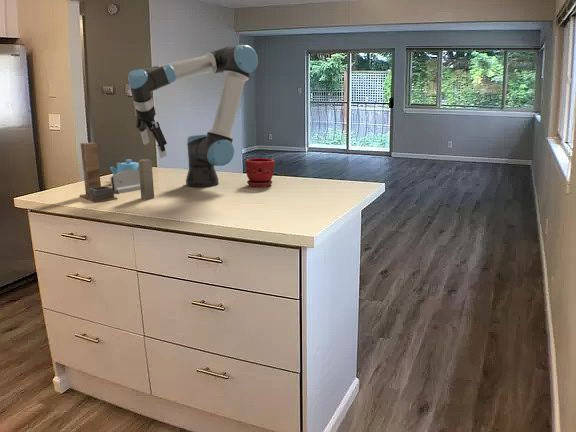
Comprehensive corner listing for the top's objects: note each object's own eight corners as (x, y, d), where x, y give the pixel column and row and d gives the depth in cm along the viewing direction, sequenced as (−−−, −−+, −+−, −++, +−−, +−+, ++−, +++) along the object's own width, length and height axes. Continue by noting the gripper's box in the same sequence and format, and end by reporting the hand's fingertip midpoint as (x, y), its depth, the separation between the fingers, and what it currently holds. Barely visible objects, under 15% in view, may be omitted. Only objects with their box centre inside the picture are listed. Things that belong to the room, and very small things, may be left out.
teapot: (143, 184, 271) (141, 161, 268) (111, 184, 270) (109, 162, 267) (148, 178, 285) (147, 157, 283) (118, 179, 284) (116, 157, 282)
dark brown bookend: (117, 199, 237) (112, 144, 232) (95, 202, 231) (89, 146, 226) (101, 193, 250) (96, 141, 244) (79, 196, 244) (74, 143, 238)
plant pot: (269, 188, 254) (268, 161, 251) (241, 187, 258) (240, 161, 255) (278, 183, 266) (278, 157, 263) (252, 182, 270) (251, 157, 267)
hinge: (118, 193, 248) (112, 171, 248) (113, 196, 251) (106, 174, 251) (150, 187, 260) (144, 166, 260) (144, 190, 263) (139, 169, 263)
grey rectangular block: (154, 198, 238) (151, 160, 234) (145, 199, 235) (142, 161, 232) (149, 196, 241) (147, 159, 237) (141, 198, 238) (138, 160, 235)
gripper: (121, 99, 238) (132, 141, 252) (153, 122, 224) (163, 165, 238) (136, 93, 241) (146, 134, 256) (169, 115, 227) (178, 158, 241)
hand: (154, 149), depth 247 cm, fingers open, 13 cm apart
